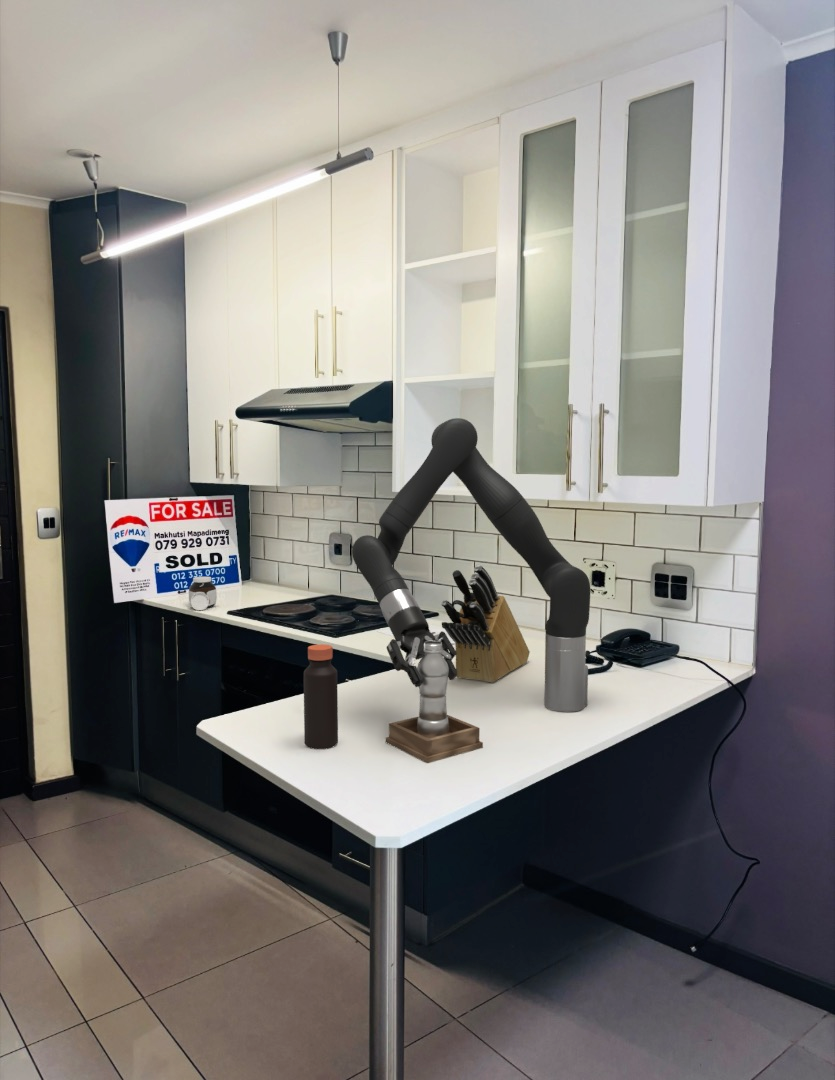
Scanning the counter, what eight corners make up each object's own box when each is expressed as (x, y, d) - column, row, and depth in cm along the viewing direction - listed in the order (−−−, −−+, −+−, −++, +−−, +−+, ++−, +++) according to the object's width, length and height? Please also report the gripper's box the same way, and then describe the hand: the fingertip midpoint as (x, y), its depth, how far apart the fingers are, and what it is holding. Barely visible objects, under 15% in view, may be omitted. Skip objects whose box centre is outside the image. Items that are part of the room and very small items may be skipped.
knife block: (437, 687, 204) (437, 566, 201) (494, 657, 234) (495, 552, 231) (477, 693, 198) (478, 569, 195) (530, 662, 229) (532, 554, 226)
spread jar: (210, 604, 320) (209, 575, 319) (223, 608, 312) (223, 578, 310) (181, 608, 313) (180, 578, 311) (194, 612, 304) (193, 581, 303)
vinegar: (321, 735, 168) (320, 641, 166) (345, 743, 164) (344, 646, 162) (297, 744, 163) (295, 647, 161) (320, 752, 158) (319, 652, 156)
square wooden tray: (439, 728, 172) (439, 710, 172) (482, 747, 161) (483, 728, 161) (385, 742, 164) (385, 723, 164) (427, 763, 153) (427, 742, 153)
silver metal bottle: (430, 748, 158) (430, 648, 156) (410, 738, 163) (410, 641, 161) (456, 741, 162) (456, 643, 160) (435, 732, 167) (435, 637, 165)
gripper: (382, 608, 162) (416, 677, 154) (438, 601, 170) (473, 665, 162) (368, 630, 167) (400, 697, 159) (423, 622, 175) (456, 685, 167)
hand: (437, 681), depth 161 cm, fingers open, 8 cm apart
